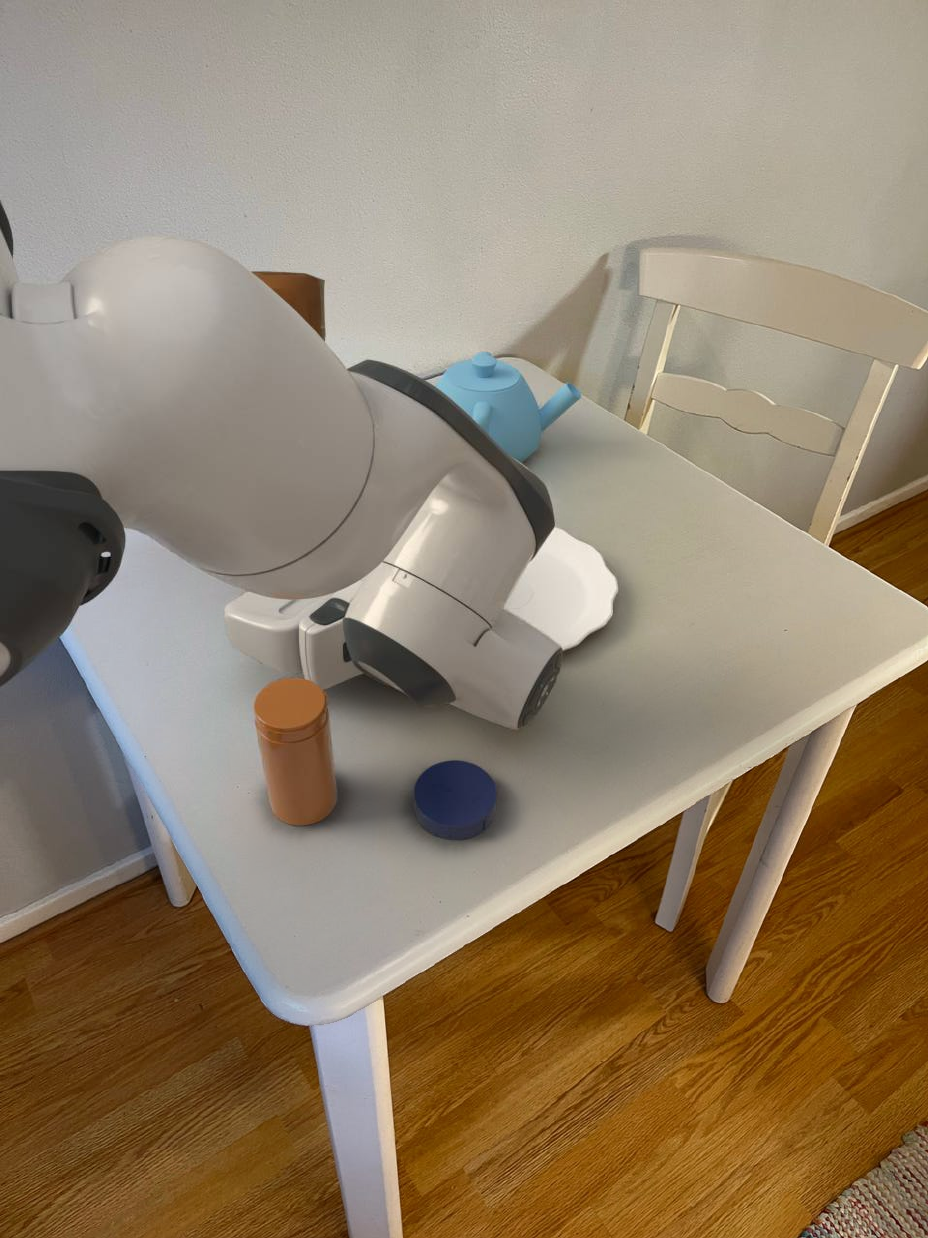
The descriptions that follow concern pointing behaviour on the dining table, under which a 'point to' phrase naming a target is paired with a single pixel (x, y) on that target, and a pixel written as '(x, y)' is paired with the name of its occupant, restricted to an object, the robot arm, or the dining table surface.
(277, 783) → the jar
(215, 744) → the dining table surface
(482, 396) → the teapot
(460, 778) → the jar lid
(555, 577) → the plate
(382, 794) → the dining table surface
